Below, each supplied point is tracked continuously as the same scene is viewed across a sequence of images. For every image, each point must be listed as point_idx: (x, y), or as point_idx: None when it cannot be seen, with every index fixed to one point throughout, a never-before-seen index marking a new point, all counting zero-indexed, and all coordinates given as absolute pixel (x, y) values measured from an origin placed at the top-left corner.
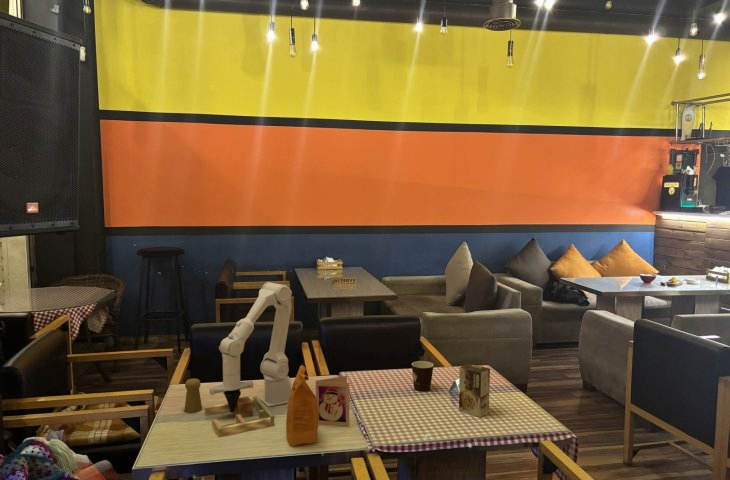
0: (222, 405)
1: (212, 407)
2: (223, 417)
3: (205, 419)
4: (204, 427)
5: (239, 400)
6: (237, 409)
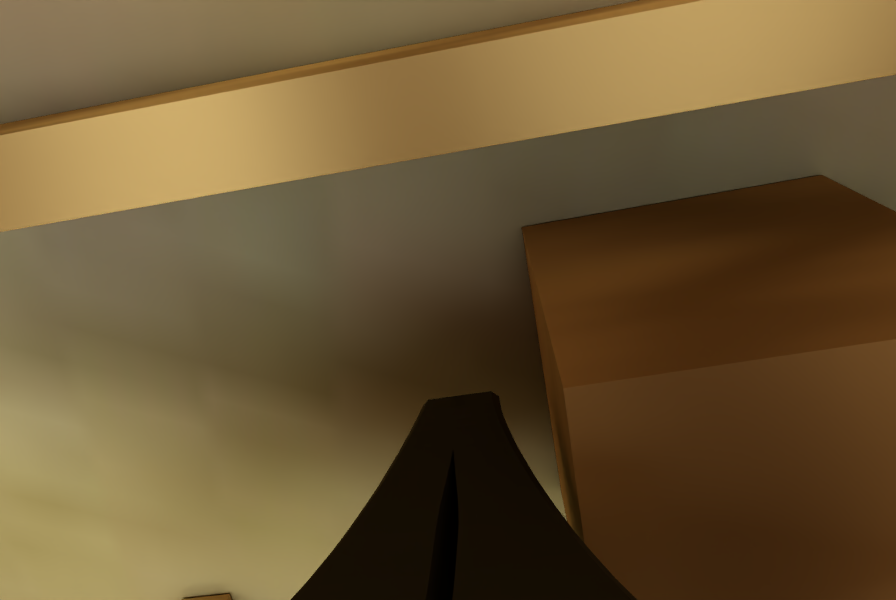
0: (253, 184)
1: (13, 229)
2: (323, 371)
3: (24, 362)
4: (79, 588)
5: (698, 551)
6: None
